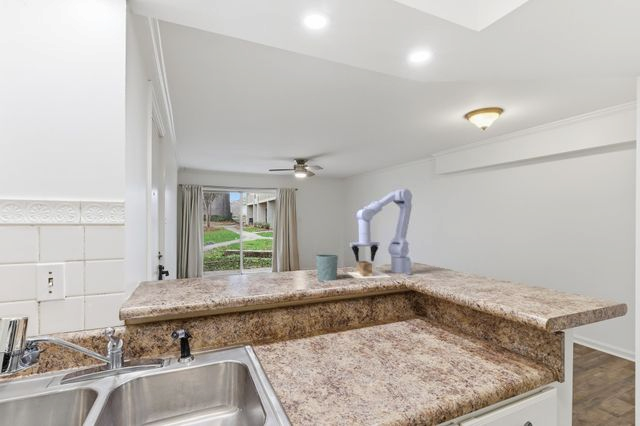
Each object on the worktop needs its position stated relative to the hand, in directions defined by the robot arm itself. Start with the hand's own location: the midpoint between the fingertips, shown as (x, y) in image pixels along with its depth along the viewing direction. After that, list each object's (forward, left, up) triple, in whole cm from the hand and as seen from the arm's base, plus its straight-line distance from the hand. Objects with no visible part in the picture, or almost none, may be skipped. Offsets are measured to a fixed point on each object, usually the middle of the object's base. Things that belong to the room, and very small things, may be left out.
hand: (364, 261), depth 146 cm
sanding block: (0, -1, -7) cm, 7 cm away
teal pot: (+20, +6, -8) cm, 22 cm away
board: (-2, 0, -8) cm, 8 cm away
